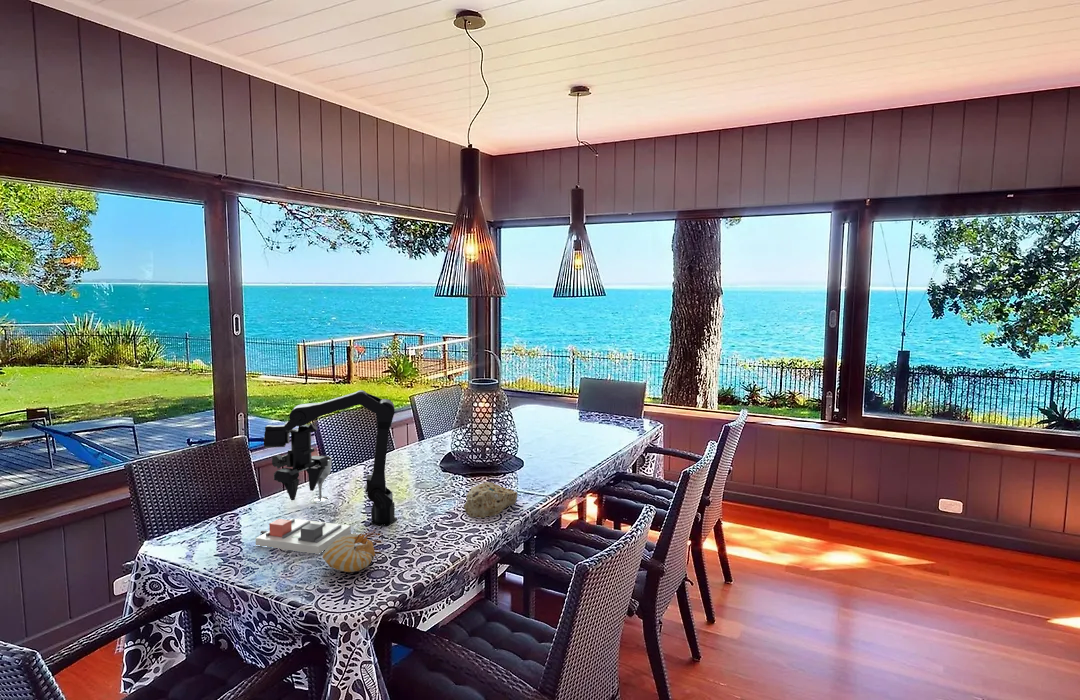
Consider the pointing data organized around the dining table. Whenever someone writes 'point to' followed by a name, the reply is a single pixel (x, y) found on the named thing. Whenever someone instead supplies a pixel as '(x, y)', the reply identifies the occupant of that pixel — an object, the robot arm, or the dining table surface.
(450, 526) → the dining table surface
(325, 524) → the white flat slab
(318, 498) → the wine glass
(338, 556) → the nautilus
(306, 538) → the grey cube
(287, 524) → the red switch
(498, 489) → the rock
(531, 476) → the dining table surface
